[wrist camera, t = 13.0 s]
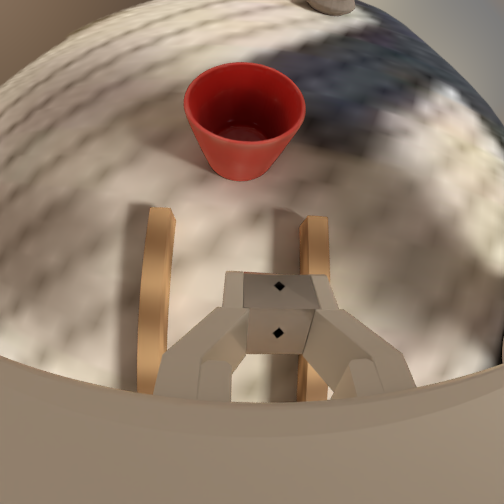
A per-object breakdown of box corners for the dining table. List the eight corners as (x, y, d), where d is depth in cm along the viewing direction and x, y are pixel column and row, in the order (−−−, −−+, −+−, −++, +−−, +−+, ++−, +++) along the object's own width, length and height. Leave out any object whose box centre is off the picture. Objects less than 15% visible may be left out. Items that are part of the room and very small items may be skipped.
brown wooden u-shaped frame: (313, 428, 26) (323, 439, 22) (148, 423, 24) (139, 434, 21) (317, 228, 31) (327, 216, 28) (157, 219, 30) (150, 207, 26)
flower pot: (251, 214, 31) (262, 167, 21) (174, 160, 32) (159, 105, 22) (303, 150, 33) (326, 97, 24) (231, 106, 34) (234, 49, 25)
